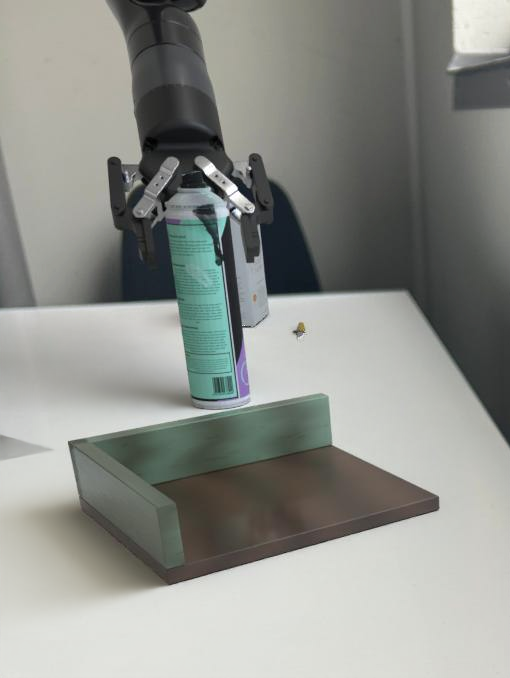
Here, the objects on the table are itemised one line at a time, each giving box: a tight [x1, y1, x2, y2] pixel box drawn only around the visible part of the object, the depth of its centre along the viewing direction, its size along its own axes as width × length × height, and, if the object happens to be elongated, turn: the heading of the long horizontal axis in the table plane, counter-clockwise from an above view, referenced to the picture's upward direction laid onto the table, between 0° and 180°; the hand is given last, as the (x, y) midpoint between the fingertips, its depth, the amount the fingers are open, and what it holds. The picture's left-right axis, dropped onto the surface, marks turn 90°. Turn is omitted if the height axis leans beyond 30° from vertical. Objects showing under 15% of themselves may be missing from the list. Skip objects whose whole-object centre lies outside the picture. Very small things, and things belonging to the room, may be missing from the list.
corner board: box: [67, 392, 440, 585], centre depth 71 cm, size 20×16×5 cm
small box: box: [230, 218, 270, 327], centre depth 128 cm, size 8×6×13 cm
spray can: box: [164, 171, 251, 410], centre depth 93 cm, size 6×6×20 cm
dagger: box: [292, 321, 306, 337], centre depth 123 cm, size 11×1×2 cm
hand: (202, 259), depth 91 cm, fingers open, 8 cm apart
